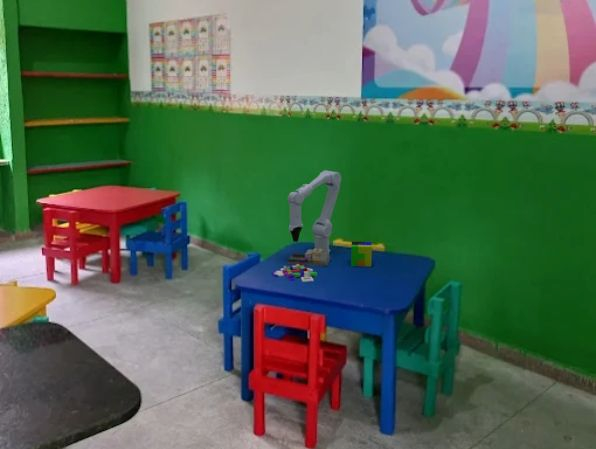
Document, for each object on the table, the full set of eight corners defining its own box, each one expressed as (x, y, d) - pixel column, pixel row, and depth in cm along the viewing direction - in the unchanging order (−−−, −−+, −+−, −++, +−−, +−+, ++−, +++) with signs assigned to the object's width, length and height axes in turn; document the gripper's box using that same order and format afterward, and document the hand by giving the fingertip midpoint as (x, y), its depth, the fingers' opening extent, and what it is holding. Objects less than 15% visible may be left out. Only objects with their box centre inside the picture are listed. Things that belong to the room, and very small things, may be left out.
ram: (308, 256, 318) (308, 249, 317) (314, 256, 317) (314, 249, 316) (305, 260, 310) (305, 253, 309) (310, 261, 310) (311, 254, 309)
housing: (313, 258, 316) (314, 248, 314) (322, 258, 315) (322, 248, 313) (312, 260, 311) (312, 250, 310) (321, 261, 310) (321, 251, 309)
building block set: (269, 268, 306) (269, 259, 305) (310, 266, 309) (310, 257, 308) (275, 284, 282) (275, 275, 281) (319, 282, 285) (319, 272, 284)
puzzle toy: (370, 260, 317) (371, 241, 315) (371, 266, 307) (371, 247, 305) (351, 260, 318) (351, 241, 315) (351, 265, 308) (351, 246, 306)
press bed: (292, 257, 322) (292, 247, 321) (330, 259, 318) (330, 249, 316) (287, 264, 311) (287, 253, 309) (326, 266, 306) (326, 256, 305)
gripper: (297, 219, 306) (297, 245, 310) (307, 213, 320) (307, 238, 323) (284, 218, 309) (284, 244, 312) (295, 212, 322) (295, 237, 325)
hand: (295, 241), depth 318 cm, fingers closed
